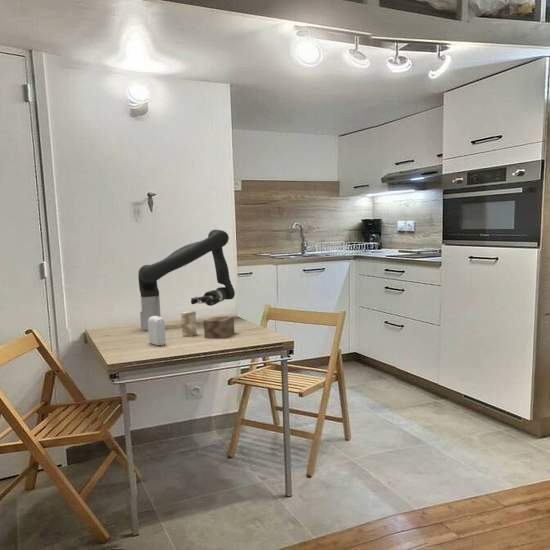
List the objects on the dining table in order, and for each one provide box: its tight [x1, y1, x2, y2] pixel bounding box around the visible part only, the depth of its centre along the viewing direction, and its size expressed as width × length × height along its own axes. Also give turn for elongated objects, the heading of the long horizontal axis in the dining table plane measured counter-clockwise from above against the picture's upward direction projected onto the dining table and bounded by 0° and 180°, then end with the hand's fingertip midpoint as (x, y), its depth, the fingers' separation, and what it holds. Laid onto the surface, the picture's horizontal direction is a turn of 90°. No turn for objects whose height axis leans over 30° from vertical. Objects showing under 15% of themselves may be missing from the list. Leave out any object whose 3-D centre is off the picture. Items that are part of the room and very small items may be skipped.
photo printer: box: [148, 316, 167, 346], centre depth 204 cm, size 10×4×12 cm, turn 39°
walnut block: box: [203, 316, 235, 339], centre depth 217 cm, size 10×12×8 cm
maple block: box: [180, 310, 198, 337], centre depth 221 cm, size 5×5×11 cm
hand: (199, 302), depth 232 cm, fingers open, 8 cm apart
